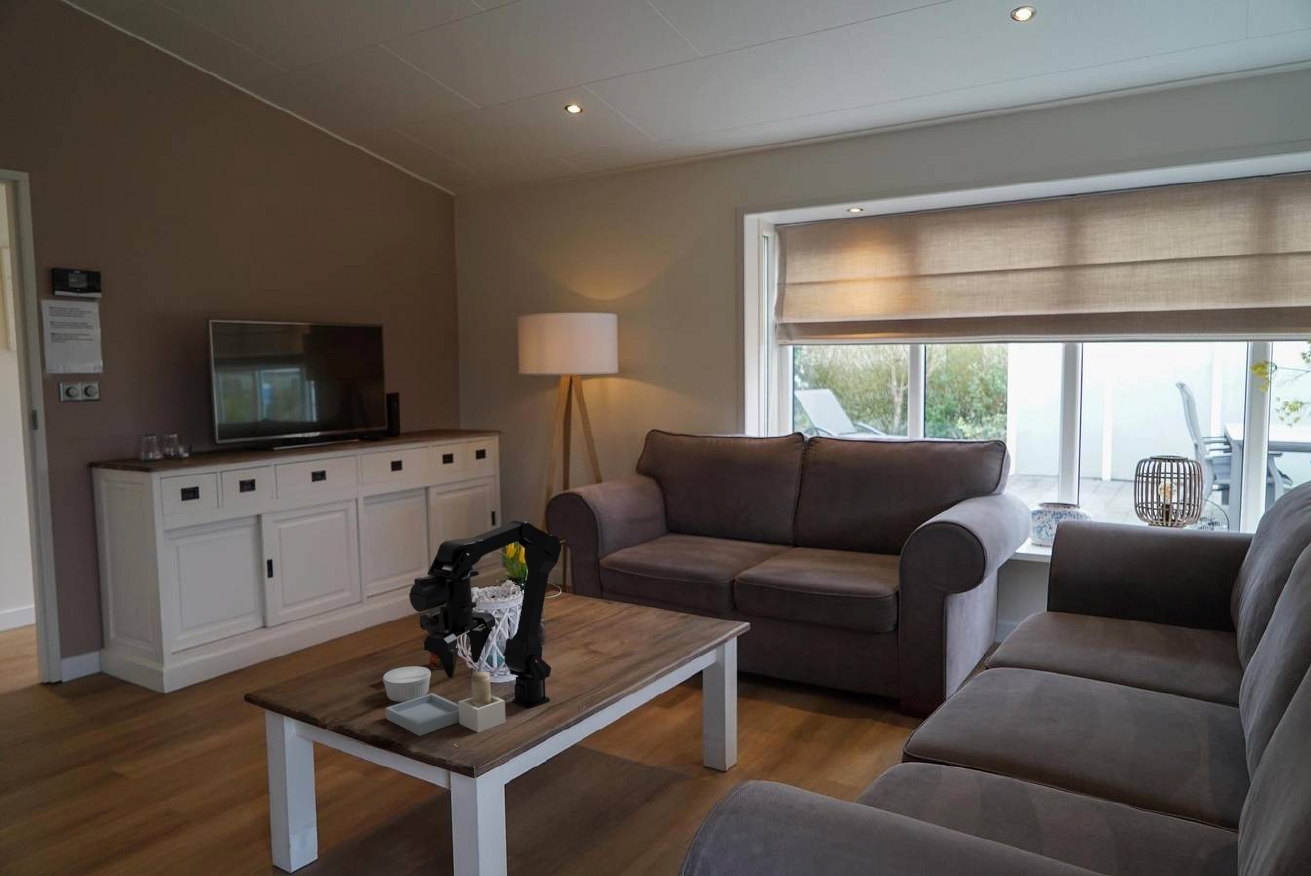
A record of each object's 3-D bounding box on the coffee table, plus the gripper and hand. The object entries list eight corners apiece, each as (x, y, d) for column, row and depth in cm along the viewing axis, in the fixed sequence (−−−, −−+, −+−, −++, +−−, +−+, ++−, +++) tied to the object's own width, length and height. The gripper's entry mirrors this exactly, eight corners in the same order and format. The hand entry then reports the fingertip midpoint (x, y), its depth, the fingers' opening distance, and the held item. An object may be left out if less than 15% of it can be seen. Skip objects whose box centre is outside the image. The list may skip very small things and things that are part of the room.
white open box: (486, 714, 202) (485, 692, 202) (505, 722, 197) (504, 700, 197) (459, 723, 197) (458, 701, 197) (478, 732, 192) (477, 710, 192)
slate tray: (432, 703, 210) (432, 693, 209) (467, 719, 200) (466, 708, 200) (386, 718, 201) (385, 708, 201) (419, 735, 191) (418, 724, 191)
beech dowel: (484, 718, 200) (482, 670, 199) (495, 722, 197) (493, 674, 197) (469, 723, 197) (467, 674, 196) (480, 728, 195) (478, 679, 194)
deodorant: (425, 666, 236) (423, 610, 235) (445, 660, 240) (443, 605, 239) (437, 671, 232) (435, 614, 231) (457, 665, 236) (455, 609, 235)
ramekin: (405, 707, 208) (404, 685, 207) (373, 698, 214) (372, 676, 214) (441, 692, 217) (440, 671, 217) (410, 683, 223) (409, 663, 223)
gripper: (453, 585, 204) (457, 651, 206) (399, 609, 187) (405, 681, 189) (494, 588, 200) (499, 656, 201) (443, 613, 183) (449, 687, 184)
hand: (463, 669), depth 194 cm, fingers open, 9 cm apart
